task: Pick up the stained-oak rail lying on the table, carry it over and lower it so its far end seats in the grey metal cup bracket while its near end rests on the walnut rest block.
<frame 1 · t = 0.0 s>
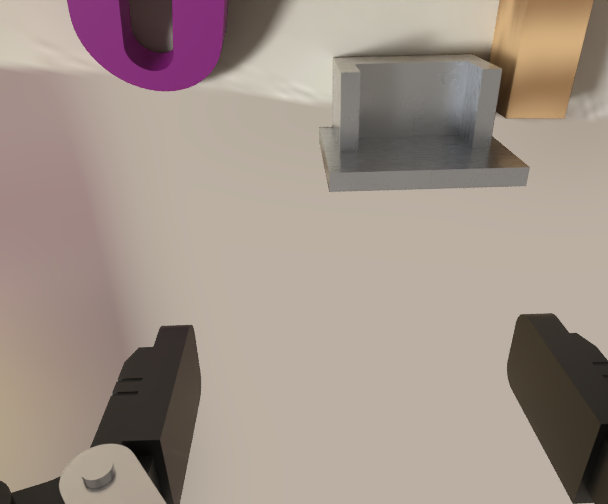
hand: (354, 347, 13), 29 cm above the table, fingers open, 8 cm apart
cup bracket: (398, 111, 40), on the table
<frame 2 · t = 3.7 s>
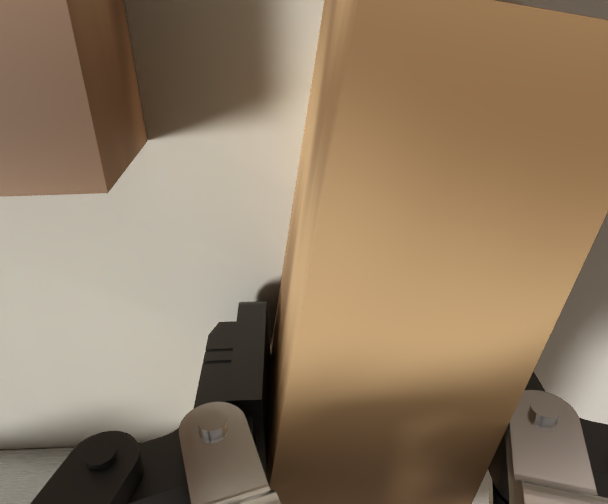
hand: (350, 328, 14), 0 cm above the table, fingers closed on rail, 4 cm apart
rail: (350, 316, 14), on the table, touching gripper
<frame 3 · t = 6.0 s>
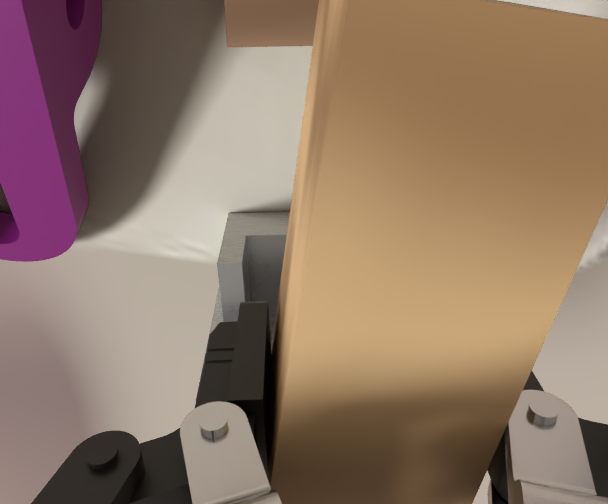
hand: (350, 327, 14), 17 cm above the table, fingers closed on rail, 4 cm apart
rail: (350, 316, 14), point 17 cm above the table, touching gripper
mounting bracket: (10, 88, 28), on the table
cup bracket: (314, 269, 33), on the table
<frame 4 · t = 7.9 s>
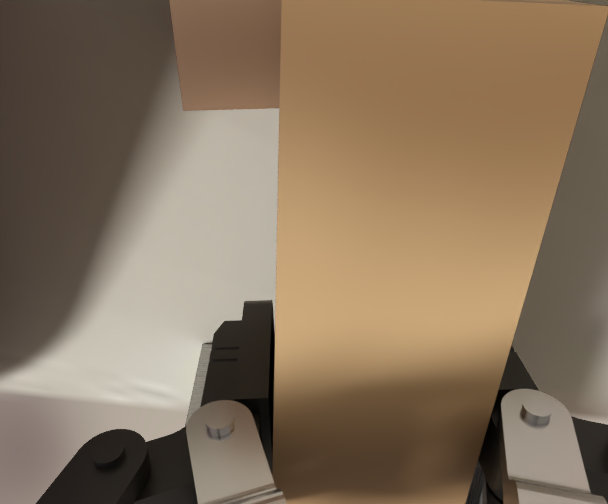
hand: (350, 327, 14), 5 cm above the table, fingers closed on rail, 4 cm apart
rail: (348, 308, 15), point 4 cm above the table, touching gripper
cup bracket: (333, 415, 22), on the table
rest block: (338, 6, 14), on the table
when the fingers open (4 cm above the table, at t = 8.7 s): rail stays where it is, resting on cup bracket, rest block.
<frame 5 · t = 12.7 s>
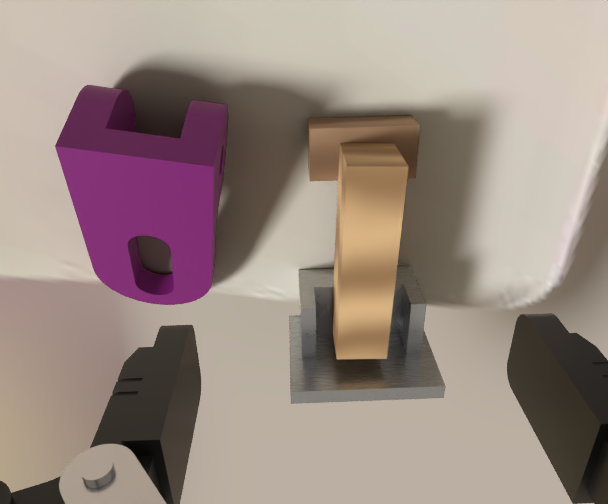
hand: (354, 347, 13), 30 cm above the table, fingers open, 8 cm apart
rail: (360, 240, 42), point 3 cm above the table, touching cup bracket, rest block
mounting bracket: (165, 198, 44), on the table
cup bracket: (353, 304, 49), on the table
rest block: (358, 142, 42), on the table
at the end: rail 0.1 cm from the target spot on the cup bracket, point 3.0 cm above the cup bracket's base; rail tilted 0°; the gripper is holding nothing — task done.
